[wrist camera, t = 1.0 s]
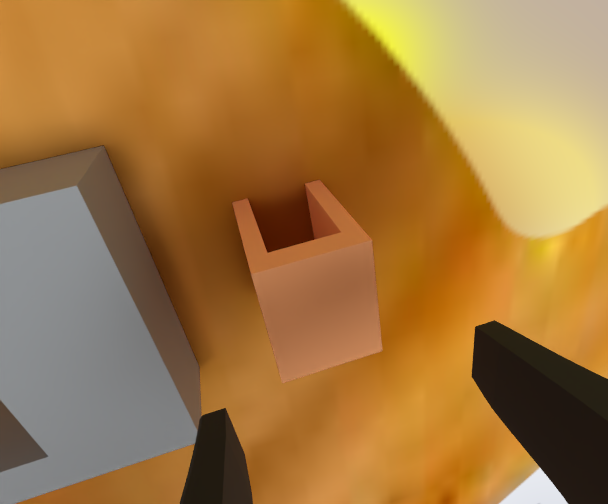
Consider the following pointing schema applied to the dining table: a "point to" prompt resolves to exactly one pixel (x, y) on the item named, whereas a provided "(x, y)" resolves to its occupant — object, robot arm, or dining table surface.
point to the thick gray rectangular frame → (83, 332)
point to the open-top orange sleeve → (315, 288)
